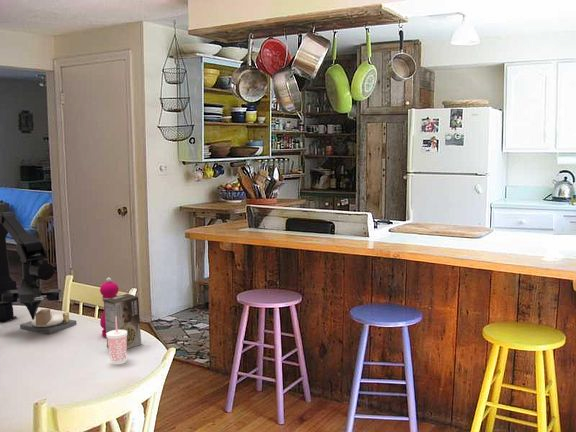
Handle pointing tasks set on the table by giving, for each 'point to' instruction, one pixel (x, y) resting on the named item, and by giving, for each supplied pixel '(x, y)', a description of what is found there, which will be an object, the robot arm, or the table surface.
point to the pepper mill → (108, 292)
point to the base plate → (47, 329)
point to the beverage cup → (117, 345)
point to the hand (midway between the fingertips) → (33, 319)
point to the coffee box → (124, 317)
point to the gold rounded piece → (65, 318)
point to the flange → (46, 318)
